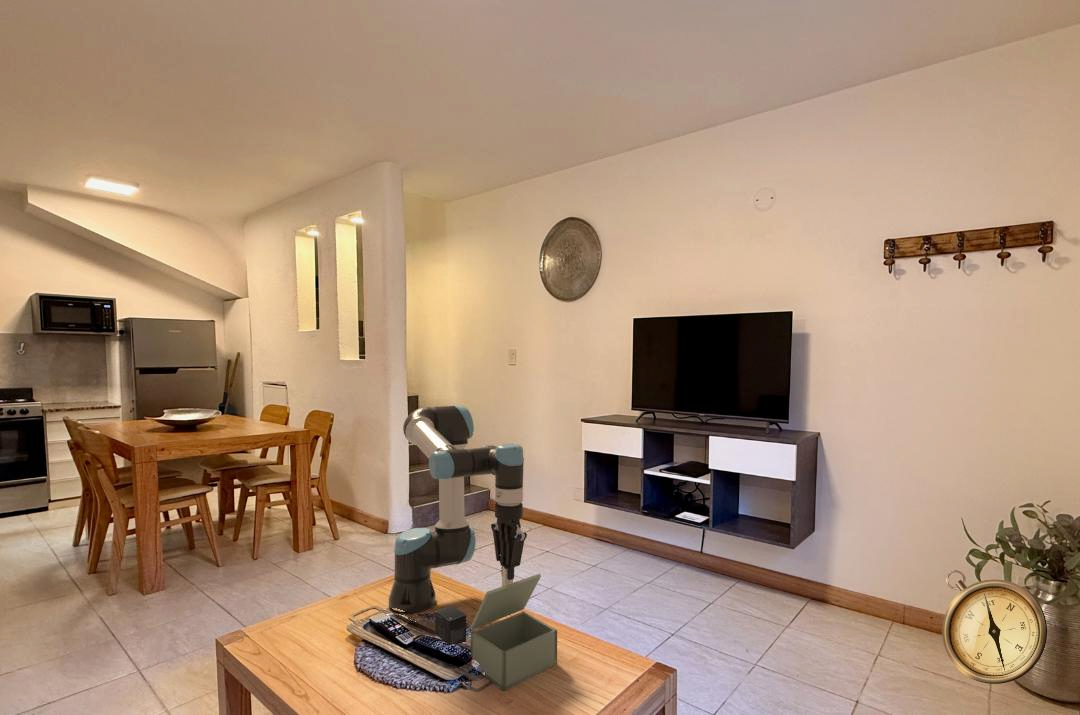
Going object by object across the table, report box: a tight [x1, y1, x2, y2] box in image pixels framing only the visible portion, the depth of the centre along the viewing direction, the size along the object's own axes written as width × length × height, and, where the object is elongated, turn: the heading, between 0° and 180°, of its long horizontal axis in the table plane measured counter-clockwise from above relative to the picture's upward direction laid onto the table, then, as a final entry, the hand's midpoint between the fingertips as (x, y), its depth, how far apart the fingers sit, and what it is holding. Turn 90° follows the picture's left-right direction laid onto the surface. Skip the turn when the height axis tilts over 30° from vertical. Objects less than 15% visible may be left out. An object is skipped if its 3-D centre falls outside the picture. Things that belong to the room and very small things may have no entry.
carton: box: [470, 610, 558, 692], centre depth 139 cm, size 14×18×9 cm
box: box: [434, 604, 467, 645], centre depth 146 cm, size 8×6×11 cm
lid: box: [469, 573, 542, 631], centre depth 142 cm, size 14×18×1 cm
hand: (507, 590), depth 141 cm, fingers closed
